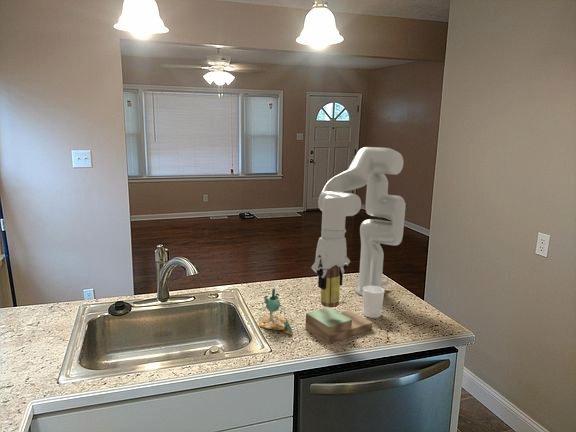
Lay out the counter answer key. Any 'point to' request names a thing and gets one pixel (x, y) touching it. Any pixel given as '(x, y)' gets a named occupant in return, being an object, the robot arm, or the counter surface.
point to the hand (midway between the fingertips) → (330, 285)
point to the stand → (335, 324)
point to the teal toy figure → (274, 321)
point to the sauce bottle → (331, 288)
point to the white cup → (372, 301)
